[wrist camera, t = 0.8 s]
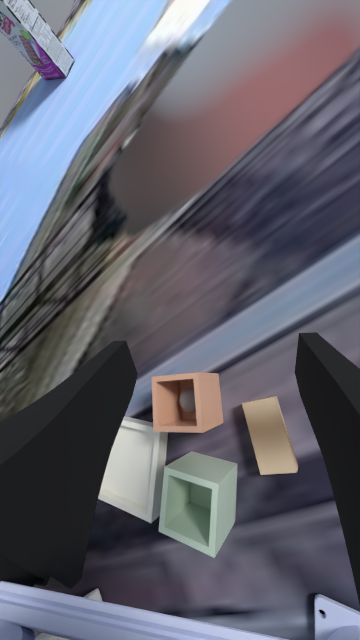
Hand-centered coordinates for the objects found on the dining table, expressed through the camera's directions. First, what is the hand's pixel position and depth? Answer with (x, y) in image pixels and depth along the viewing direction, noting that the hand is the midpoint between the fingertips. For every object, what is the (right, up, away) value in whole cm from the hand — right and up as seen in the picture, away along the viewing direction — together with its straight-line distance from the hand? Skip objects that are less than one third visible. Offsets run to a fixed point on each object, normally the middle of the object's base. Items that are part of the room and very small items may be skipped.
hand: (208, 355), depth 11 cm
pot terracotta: (+1, -7, +17) cm, 18 cm away
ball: (0, -7, +15) cm, 17 cm away
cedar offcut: (+7, -9, +13) cm, 18 cm away
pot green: (+2, -15, +14) cm, 21 cm away
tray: (-7, -15, +19) cm, 25 cm away
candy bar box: (-31, +64, +51) cm, 88 cm away
